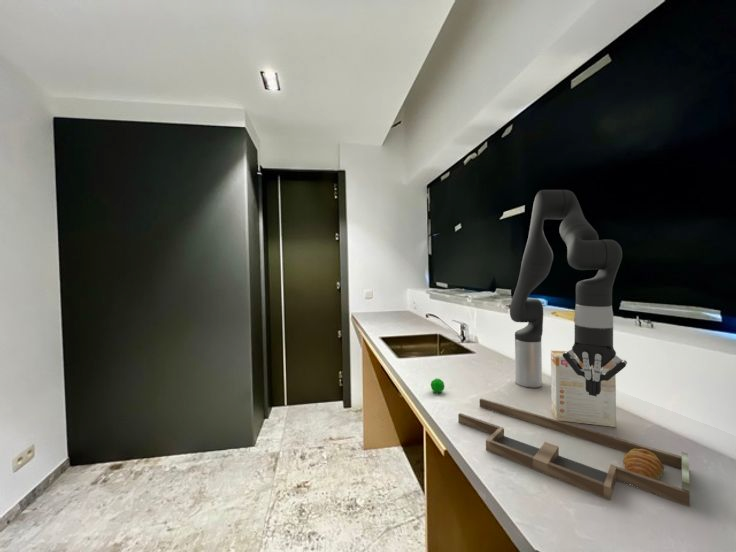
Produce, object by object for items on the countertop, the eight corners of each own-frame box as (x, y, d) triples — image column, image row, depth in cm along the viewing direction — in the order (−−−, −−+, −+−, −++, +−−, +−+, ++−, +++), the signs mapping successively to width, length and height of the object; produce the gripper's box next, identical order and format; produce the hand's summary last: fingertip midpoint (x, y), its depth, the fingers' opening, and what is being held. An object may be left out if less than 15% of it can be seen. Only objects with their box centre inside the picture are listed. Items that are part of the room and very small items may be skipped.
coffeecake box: (607, 416, 94) (606, 352, 94) (617, 428, 87) (616, 359, 87) (550, 410, 99) (550, 349, 98) (556, 420, 92) (555, 355, 92)
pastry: (660, 492, 63) (660, 473, 63) (618, 476, 68) (617, 459, 68) (664, 470, 70) (664, 454, 70) (625, 458, 75) (625, 442, 75)
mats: (504, 437, 84) (504, 435, 84) (610, 475, 68) (610, 474, 68) (491, 449, 79) (491, 448, 79) (604, 495, 62) (604, 493, 62)
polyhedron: (447, 392, 115) (447, 379, 115) (438, 395, 112) (438, 382, 112) (437, 388, 119) (436, 375, 119) (428, 391, 116) (427, 378, 116)
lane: (481, 405, 103) (480, 393, 103) (687, 469, 70) (688, 451, 69) (444, 432, 87) (443, 418, 87) (690, 533, 53) (690, 510, 53)
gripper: (631, 324, 72) (630, 397, 73) (565, 318, 82) (565, 383, 83) (627, 329, 67) (626, 408, 68) (557, 322, 77) (557, 392, 77)
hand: (593, 394), depth 75 cm, fingers closed
